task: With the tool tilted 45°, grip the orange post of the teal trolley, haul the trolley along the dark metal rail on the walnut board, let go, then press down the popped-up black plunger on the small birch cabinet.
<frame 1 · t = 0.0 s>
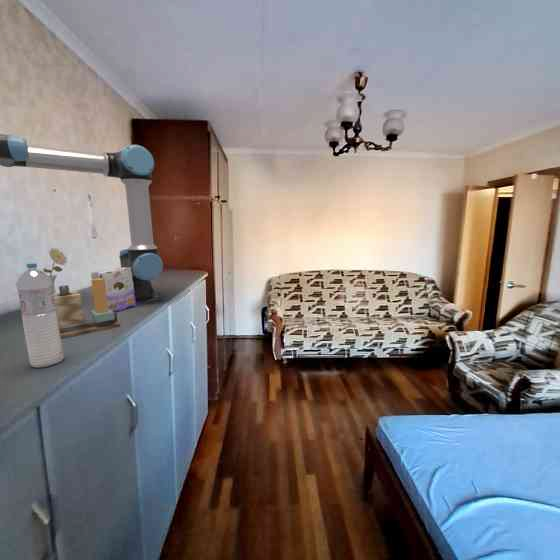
rail board: (86, 330, 99), on the table
water bottle: (48, 363, 76), on the table
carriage: (100, 299, 101), point 10 cm above the table, slide at 0.0 cm
candy box: (117, 310, 123), on the table, touching arm
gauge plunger: (64, 294, 107), point 10 cm above the table, slide at 0.0 cm
gauge cabinet: (68, 321, 108), on the table
flower in vase: (56, 308, 127), on the table
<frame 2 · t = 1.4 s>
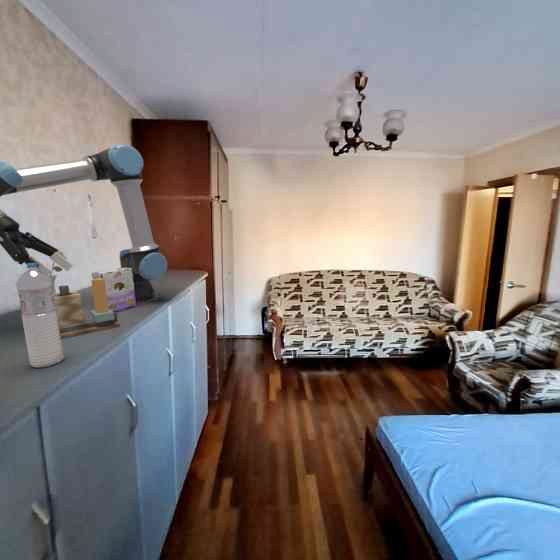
hand: (60, 271, 97), 20 cm above the table, tool tilted 45°, fingers open, 13 cm apart
candy box: (117, 310, 123), on the table
everything else where it was.
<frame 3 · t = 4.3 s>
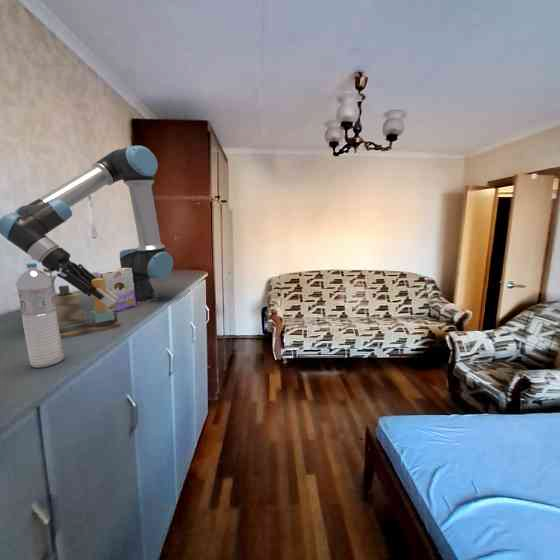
hand: (113, 302, 102), 8 cm above the table, tool tilted 45°, fingers closed on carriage, 3 cm apart
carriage: (100, 299, 101), point 10 cm above the table, slide at 0.0 cm, touching gripper
everything else where it was.
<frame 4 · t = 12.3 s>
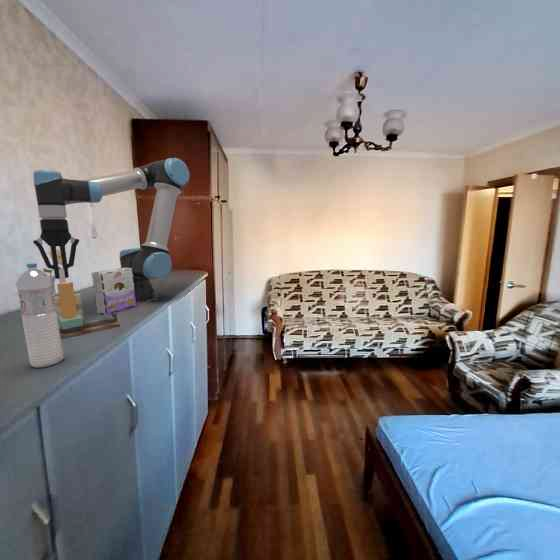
hand: (63, 287, 106), 13 cm above the table, tool pointing down, fingers closed
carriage: (68, 304, 95), point 10 cm above the table, slide at 9.0 cm
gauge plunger: (65, 296, 107), point 9 cm above the table, slide at 0.7 cm, touching gripper
everything else where it was.
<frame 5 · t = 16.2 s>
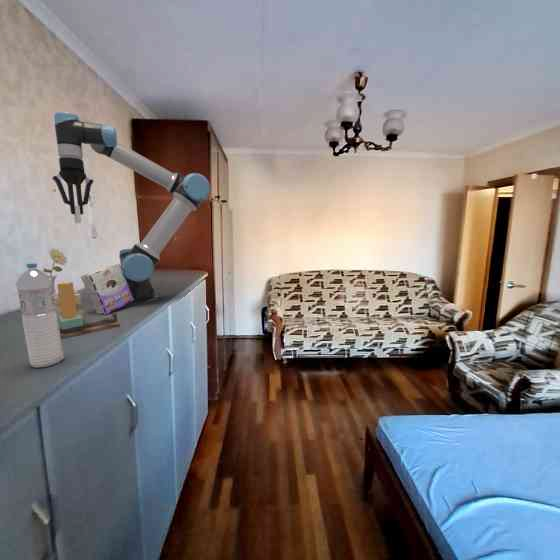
hand: (78, 223, 117), 35 cm above the table, tool pointing down, fingers closed
candy box: (116, 308, 123), point 1 cm above the table, touching arm
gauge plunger: (65, 299, 107), point 8 cm above the table, slide at 1.8 cm
everything else where it was.
at the end: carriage slide at 9.0 cm; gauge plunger slide at 1.8 cm; the gripper is holding nothing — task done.
